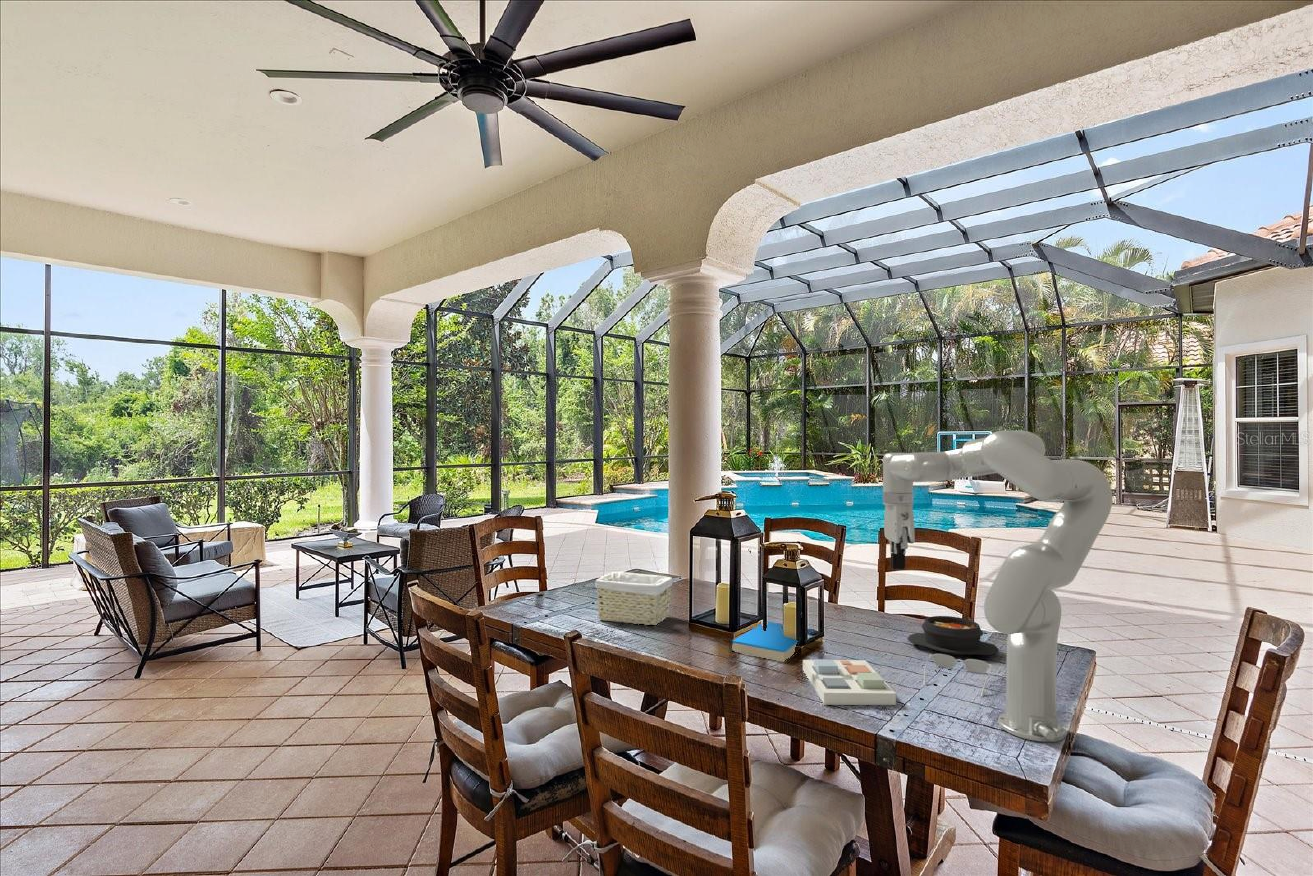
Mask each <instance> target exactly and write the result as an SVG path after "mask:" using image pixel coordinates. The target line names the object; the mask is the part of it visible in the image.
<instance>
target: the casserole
mask: <svg viewBox="0 0 1313 876" xmlns="http://www.w3.org/2000/svg"><path fill="white" fill-rule="evenodd" d="M921 628H922V630H923V632H916V633H912V634H910V635H909V636H908V637H907V640H908V642H910V643H911V644H914V645H917V646H920V647H925V648H928V649H931V650H933V651H935V652H938V653H940V654H944V655H948V656H970V655H979V656H992V655H995V654H997V653H998V652H999V651H1000V650H999V648H998V647H997V646H996V645H995V644H992V643H990V642H987V641H985V642H984V641H982V640H981V637H982V636H983V635H984V632H983V630H982V629H981V626H980V625H979V623H978V622H975V621H974V620H971V619H968V618H967V619H966V618H963V617H959V616H949V615H934V616H933V615H932V616H927V617H926V618H925V619H924V622H923V623H922V624H921Z"/></svg>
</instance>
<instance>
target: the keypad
mask: <svg viewBox="0 0 1313 876" xmlns="http://www.w3.org/2000/svg"><path fill="white" fill-rule="evenodd" d="M833 660H834V661H835V663H836V664H837V665H838V675H818V674H817V673H816V671H815V670H814V659H802V672H803V671H804V672H803V674H804V673H805V674H806V675H805V674H804V675H805V677H806V676H807V677H806V678H808V679H809V680H808V679H807V680H808V682H809V681H810V682H811V683H810V682H809V683H810V685H811V684H812V685H811V687H812V686H813V687H814V688H813V687H812V688H813V690H814V689H815V690H814V691H816V692H817V693H816V692H815V693H816V695H817V694H818V695H817V696H819V697H820V698H819V697H818V698H819V700H820V699H821V700H822V701H821V700H820V701H821V703H822V702H823V703H822V705H823V704H824V705H823V706H827V705H896V706H897V704H896V703H897V693H896V691H894V689H893V688H891V687H890V686H889V684H888V683H887V682H886V681H885V680H884V689H862V688H861V687H860V686H859V684H858V683H857V675H850V674H849V672H848V671H847V670H846V665H866V667H867V668H868V669H869V670H870V671H871V673H878V672H877V671H876V669H874V668H873V667H872V666H871V665H870V664H869V663H868V661H866V660H865V659H861V660H860V659H858V660H856V659H853V660H852V659H848V660H847V659H833ZM823 678H843V679H844V680H845V681H846V683H847V684H848V685H849V689H826V687H825V686H824V684H823Z"/></svg>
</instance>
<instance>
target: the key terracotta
mask: <svg viewBox="0 0 1313 876" xmlns="http://www.w3.org/2000/svg"><path fill="white" fill-rule="evenodd" d="M846 670H847V671H848V672H849V674H850V675H857V673H871V671H870V670H869V669H868V668H867V667H866V665H846Z"/></svg>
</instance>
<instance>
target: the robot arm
mask: <svg viewBox="0 0 1313 876" xmlns="http://www.w3.org/2000/svg"><path fill="white" fill-rule="evenodd" d="M1045 446H1046V445H1045V442H1044V441H1043V440H1042V438H1041V437H1040V436H1039V435H1037V434H1035V433H1033V432H1031V431H1028V430H1006V429H1005V430H1004V429H1003V430H997V431H994V432H992V433H990V434H989V435H987V436H986V437H981V438H977V439H970V440H968V441H965V443H964V444H963V446H961V447H962V448H958V449H952V450H946V451H939V452H937V451H936V452H935V451H934V452H933V451H931V452H930V451H925V452H921V451H919V452H889V453H888V452H887V453H885V454H884V455H883V458H882V505H884V506H885V507H884V520H883V521H884V523H883V525H884V526H883V529H884V531H883V532H884V537H885V539H886V540H888V543H889V544H890V545H889V546H890V548H889V550H890V568H892V569H893V570H905V569H906V552H907V549H908V547H909V546H908V545H909V544H914V543H915V542H916V537H915V536H916V535H915V533H916V532H915V519H914V509H913V506H914V483H928V482H945V481H951V480H956V479H965V478H971V477H981V476H987V475H992V474H998V475H1000V476H1001V477H1003V478H1004V479H1005V480H1006V481H1008V482H1010V484H1013V485H1014V486H1015V487H1017V488H1018V489H1019V490H1021V491H1023V492H1024V493H1026V494H1027V495H1029V497H1031V498H1034V499H1036V500H1039V501H1043V502H1049V503H1050V502H1051V503H1054V502H1063V503H1062V506H1061V507H1060V508H1059V510H1058V511H1057V512H1056V513H1054V516H1052V518H1051V519H1050V521H1049V523H1048V525H1047V527H1046V529H1045V530H1044V532H1043V534H1042V536H1041V538H1040V539H1038V541H1037V542H1036V543H1033V544H1025V545H1022V546H1019V547H1017V548H1015V549H1014V550H1012V551H1011V553H1009V554H1008V556H1006V557H1005V559H1004V561H1003V562H1002V565H1001V566H1000V569H999V570H998V573H997V574H996V577H995V579H994V580H993V582H992V584H991V586H990V588H989V590H988V592H987V594H986V596H985V599H984V605H983V612H984V617H985V619H986V621H987V623H988V624H989V625H990V627H992V629H994V630H995V631H997V632H999V633H1001V634H1005V635H1007V638H1006V649H1005V650H1006V651H1005V652H1006V653H1005V656H1006V657H1005V666H1006V667H1005V668H1006V669H1005V670H1006V671H1005V673H1006V674H1005V677H1006V678H1005V688H1006V689H1005V696H1006V697H1005V701H1006V702H1005V706H1006V707H1005V712H1004V713H1002V714H1000V715H999V716H998V719H997V720H998V722H997V723H998V726H999V727H1000V728H1001V730H1004V731H1005V732H1007V733H1009V734H1011V735H1013V736H1016V737H1019V738H1021V739H1025V740H1029V741H1033V742H1034V741H1035V742H1040V743H1041V742H1042V743H1053V742H1054V743H1055V742H1059V741H1062V740H1065V739H1064V738H1065V737H1066V730H1065V728H1064V727H1063V726H1062V725H1061V723H1058V721H1059V719H1058V717H1057V714H1058V712H1057V709H1058V707H1057V706H1058V705H1057V697H1058V695H1057V685H1058V684H1057V683H1058V682H1057V676H1058V675H1057V671H1058V670H1057V669H1058V668H1057V665H1058V663H1057V662H1058V637H1059V631H1060V626H1061V621H1062V605H1061V601H1060V600H1059V598H1058V595H1057V594H1056V593H1055V592H1054V591H1053V590H1056V589H1060V588H1063V587H1066V586H1068V585H1070V584H1071V583H1072V582H1073V581H1074V579H1076V576H1077V574H1079V573H1078V572H1079V571H1080V569H1081V567H1082V565H1083V563H1084V562H1085V561H1086V558H1087V556H1088V554H1089V553H1090V552H1091V549H1092V547H1093V545H1094V543H1095V541H1096V539H1097V538H1098V536H1099V534H1100V532H1101V531H1102V529H1103V527H1104V525H1105V524H1106V522H1107V520H1108V518H1109V516H1110V513H1111V510H1112V505H1113V490H1112V487H1111V483H1110V481H1109V480H1108V478H1107V476H1106V475H1105V474H1104V473H1103V472H1102V471H1101V470H1100V469H1099V467H1097V466H1095V465H1094V464H1092V463H1090V462H1088V461H1085V460H1080V459H1073V458H1072V459H1071V458H1070V459H1067V458H1066V459H1050V458H1048V457H1046V456H1045V454H1046V448H1045Z"/></svg>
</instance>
